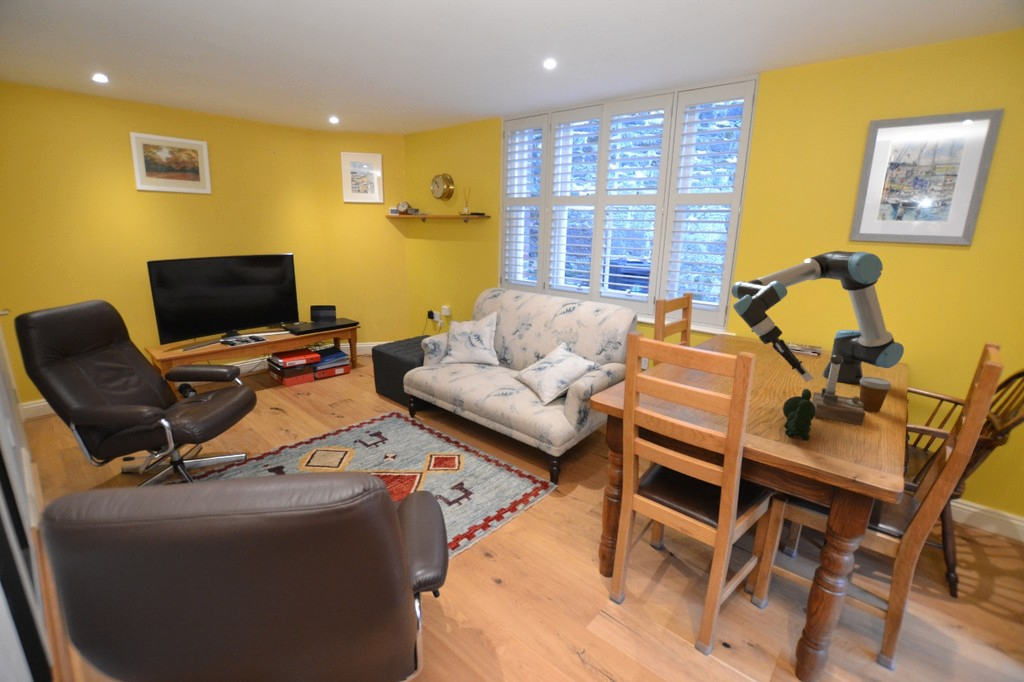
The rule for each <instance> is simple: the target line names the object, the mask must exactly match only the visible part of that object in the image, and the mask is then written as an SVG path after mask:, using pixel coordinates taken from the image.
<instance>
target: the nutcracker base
mask: <svg viewBox="0 0 1024 682" xmlns="http://www.w3.org/2000/svg"><path fill="white" fill-rule="evenodd" d="M825 392H826V387H822V388H821V392H817V391H814V392H813V395H812V398H811V399H812V401H811V402H812V403H813V404H814V406H815V409H816V413H815V416H814V418H815V419H820V420H824V419H825V421H830V420H831V422H835V421H836V422H837V423H841V422H842V423H841V424H846V423H847V424H846V425H851V424H852V426H857V425H858V426H857V427H863V424H864V421H865V417H866V411H864V410H863V408H862V407H863V405H864V404H863V403H861V402H859V401H860V396H857V395H855V396H853V397H848V396H841V395H836V392H837V390H835V392H834V395H832V394H826V393H825Z"/></svg>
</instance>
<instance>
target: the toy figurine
mask: <svg viewBox="0 0 1024 682" xmlns="http://www.w3.org/2000/svg"><path fill="white" fill-rule="evenodd" d="M811 399H812V392H811V389H808V388H805V389H802V393H801V395H800V396H799V395H798V396H795V395H794V396H792V397H789V398H788V399H787V400H785V401H784V404H783V407H782V411H783V415H784V417H785V418H786V422H785V423H784V424H783V425H784V426H783V427H784V429H786V430H785V431H784V434H785V435H787V437H788V438H790V439H794V438H795V437H796V438H801V440H802V441H803V442H808V441H809V440H810V437H811V436H810V432H811V426H812V425H813V424H812V421H813V420H814V418H815V417H814V416H815V413H816V409H815V406H814V404H813V403H812V401H811Z"/></svg>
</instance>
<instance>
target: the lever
mask: <svg viewBox="0 0 1024 682" xmlns="http://www.w3.org/2000/svg"><path fill="white" fill-rule="evenodd" d="M830 361H831V367H830V372H829V377H828V378H827V382H826V387H825V388H826V392H825V393H826V394H832V395H834V392H835V391H836V387H837V382H838V381H837V378H838V373H839V369H840V364H841V363H842V362H843V358H842V357H841V356H840V355H833V356H832V357H831V356H830V360H829V362H830ZM835 393H836V392H835Z"/></svg>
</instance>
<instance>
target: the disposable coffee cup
mask: <svg viewBox="0 0 1024 682" xmlns="http://www.w3.org/2000/svg"><path fill="white" fill-rule="evenodd" d="M859 386H860V389H859V398H860V401H859V402H861V403H863V404H864V405H863V407H862V408H863V410H864V412H866V411H868V412H867V413H871V412H875V413H874V414H877V412H879V413H880V411H881V408H882V406H883V404H884V402H885V400H886V397H887V395H888V393H889V391H890V390H891V388H892V385H891V382H890V381H889V380H887V379H884V378H880V377H874V376H863V377H862V378H861V380H860V383H859Z"/></svg>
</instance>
